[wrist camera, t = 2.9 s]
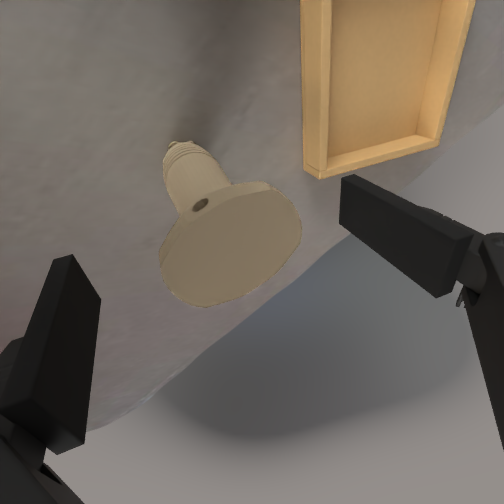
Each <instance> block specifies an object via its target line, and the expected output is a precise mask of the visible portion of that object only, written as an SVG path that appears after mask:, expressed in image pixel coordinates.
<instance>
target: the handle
mask: <svg viewBox="0 0 504 504" xmlns="http://www.w3.org/2000/svg"><path fill="white" fill-rule="evenodd" d="M168 148H169V149H168V152H167V153H166V155H165V158H164V159H163V175H164V182H165V185H166V188H167V191H168V194H169V196H170V198H171V200H172V201H173V203H174V205H175V207H176V209H177V211H178V213H179V216H180V217H179V219H178V220H177V221H176V223H175V224H174V225H173V227H172V229H171V230H170V232H169V233H168V235H167V237H166V239H165V241H164V242H163V244H162V246H161V248H160V250H159V261H160V268H161V274H162V277H163V281H164V283H165V284H166V286H167V287H168V289H169V290H170V291H171V292H172V293H173V294H174V295H175V296H176V297H177V298H179V299H180V300H182V301H183V302H185V303H187V304H189V305H192V306H196V307H202V308H207V307H211V306H214V305H218V304H222V303H225V302H228V301H231V300H234V299H237V298H239V297H242V296H244V295H246V294H247V293H249V292H251V291H252V290H254V289H255V288H257V287H258V286H260V285H261V284H263V283H264V282H266V281H267V280H269V279H270V278H271V277H272V276H274V275H275V274H276V273H277V272H278V271H279V270H280V269H281V268H282V267H283V266H284V264H285V263H286V262H287V260H288V259H289V258H290V257H291V255H292V254H293V253H294V251H295V250H296V248H297V247H298V246H299V244H300V242H301V237H302V225H301V220H300V217H299V214H298V212H297V210H296V208H295V207H294V205H293V203H292V202H291V201H290V200H289V199H288V198H287V197H286V196H285V195H284V194H282V193H281V192H280V191H279V190H278V189H276V188H274V187H273V186H271V185H270V184H268V183H265V182H263V181H254V182H247V183H240V184H236V185H232V184H231V183H230V181H229V179H228V178H227V176H226V174H225V173H224V171H223V169H222V168H221V166H220V165H219V163H218V162H217V161H216V160H215V159H214V157H213V156H212V155H211V154H210V153H208V152H207V151H206V150H204V149H203V148H201V147H200V146H198V145H197V144H196V143H194V142H192V141H188V142H183V143H179V142H176V141H173V142H171V143H170V144H169V145H168Z"/></svg>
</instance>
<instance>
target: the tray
mask: <svg viewBox="0 0 504 504" xmlns="http://www.w3.org/2000/svg"><path fill="white" fill-rule="evenodd" d="M475 2H476V0H300V24H301V72H302V121H303V169H304V170H305V171H307V172H308V173H310V174H312V175H313V176H315V177H316V178H318V179H324V178H327V177H331V176H334V175H338V174H341V173H345V172H348V171H352V170H356V169H359V168H363V167H366V166H370V165H373V164H377V163H380V162H384V161H387V160H391V159H394V158H398V157H402V156H405V155H409V154H412V153H416V152H419V151H423V150H426V149H430V148H433V147H437V146H439V142H440V138H441V134H442V130H443V127H444V123H445V119H446V115H447V111H448V107H449V103H450V99H451V95H452V91H453V88H454V84H455V80H456V76H457V72H458V68H459V64H460V60H461V56H462V52H463V49H464V45H465V41H466V37H467V33H468V29H469V25H470V21H471V17H472V13H473V10H474V6H475Z"/></svg>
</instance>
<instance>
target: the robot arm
mask: <svg viewBox="0 0 504 504" xmlns="http://www.w3.org/2000/svg"><path fill="white" fill-rule="evenodd" d="M339 224H340V225H342V226H343V227H344V228H346V229H347V230H348V231H349V232H351V233H352V234H353V235H355V236H356V237H357V238H359V239H360V240H361V241H362V242H364V243H365V244H367V245H368V246H369V247H370V248H371V249H373V250H374V251H375V252H377V253H378V254H379V255H381V256H382V257H383V258H384V259H386V260H387V261H388V262H390V263H391V264H392V265H394V266H395V267H396V268H397V269H399V270H400V271H401V272H403V273H404V274H405V275H406V276H408V277H409V278H411V279H412V280H413V281H414V282H416V283H417V284H418V285H420V286H421V287H422V288H423V289H425V290H426V291H427V292H429V293H430V294H431V295H432V296H434V297H435V298H438V297H441V296H443V295H446V294H448V293H451V292H452V290H453V287H454V285H455V282H456V280H457V281H459V282H460V283H462V284H463V288H462V290H461V293H460V295H459V297H458V300H457V303H456V307H459V306H460V304H461V302H462V301H464V304H465V306H464V308H466V311H467V315H468V319H469V322H470V326H471V330H472V334H473V338H474V341H475V345H476V348H477V353H478V356H479V360H480V364H481V367H482V371H483V374H484V379H485V382H486V386H487V389H488V394H489V397H490V401H491V405H492V409H493V412H494V416H495V420H496V424H497V427H498V431H499V435H500V439H501V442H502V446H503V449H504V233H490V234H486V235H484V234H481V233H479V232H477V231H475V230H473V229H471V228H469V227H467V226H465V225H463V224H461V223H459V222H457V221H455V220H453V221H452V219H451V218H449V217H447V216H443V214H441V213H439V212H436V211H434V210H432V209H428V208H425V207H420V206H417V205H415V204H413V203H411V202H409V201H407V200H405V199H403V198H401V197H399V196H397V195H395V194H393V193H391V192H389V191H387V190H385V189H383V188H381V187H379V186H377V185H375V184H373V183H371V182H369V181H367V180H365V179H363V178H361V177H359V176H357V175H355V174H353V175H349V176H345V177H342V178H341V195H340V213H339ZM100 306H101V298H100V297H99V295H98V294H97V292H96V290H95V289H94V287H93V286H92V284H91V282H90V281H89V279H88V278H87V276H86V274H85V273H84V271H83V270H82V268H81V266H80V265H79V263H78V262H77V260H76V258H75V257H74V255H73V254H71V255H68V256H64V257H61V258H57V259H54V260H53V262H52V265H51V267H50V270H49V272H48V275H47V278H46V280H45V283H44V286H43V288H42V291H41V293H40V296H39V299H38V301H37V304H36V307H35V309H34V312H33V314H32V317H31V320H30V322H29V325H28V327H27V330H26V333H25V335H24V337H22V338H18V339H15V340H12V341H11V342H10V343H9V344H8V346H7V347H6V348H5V349H4V350H3V352H2V353H1V354H0V504H84V503H83V502H82V501H81V500H80V498H79V497H78V496H77V495H76V494H75V493H74V492H73V491H72V490H71V489H70V488H69V487H68V486H67V485H66V484H65V483H64V482H63V481H62V480H61V478H60V477H59V476H58V475H57V474H56V473H55V472H54V471H53V470H52V469H51V468H50V467H49V466H48V465H46V464H45V463H43V460H44V455H45V451H46V447H47V448H48V449H49V450H51V451H52V452H54V453H55V454H56V455H58V454H61V453H63V452H66V451H68V450H70V449H73V448H75V447H78V446H80V445H82V444H84V442H85V434H86V425H87V417H88V408H89V400H90V391H91V383H92V374H93V366H94V357H95V348H96V340H97V331H98V323H99V314H100Z"/></svg>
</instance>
